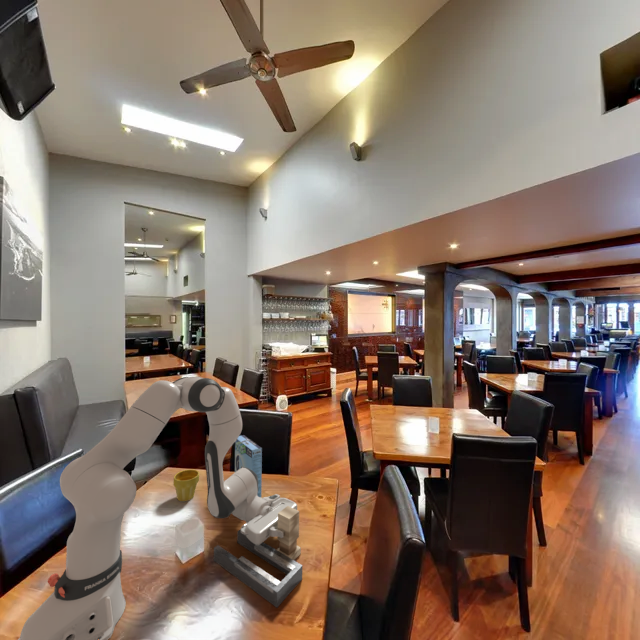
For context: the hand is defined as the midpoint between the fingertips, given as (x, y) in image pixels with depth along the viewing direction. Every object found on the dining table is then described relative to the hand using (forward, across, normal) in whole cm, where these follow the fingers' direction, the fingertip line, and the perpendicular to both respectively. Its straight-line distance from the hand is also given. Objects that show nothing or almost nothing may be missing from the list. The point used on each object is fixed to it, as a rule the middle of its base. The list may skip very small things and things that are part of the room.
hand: (290, 529), depth 96 cm
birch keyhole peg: (-1, 0, +9) cm, 9 cm away
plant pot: (-59, -1, +9) cm, 60 cm away
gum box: (-40, +17, +9) cm, 44 cm away
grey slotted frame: (-6, -10, +9) cm, 15 cm away
